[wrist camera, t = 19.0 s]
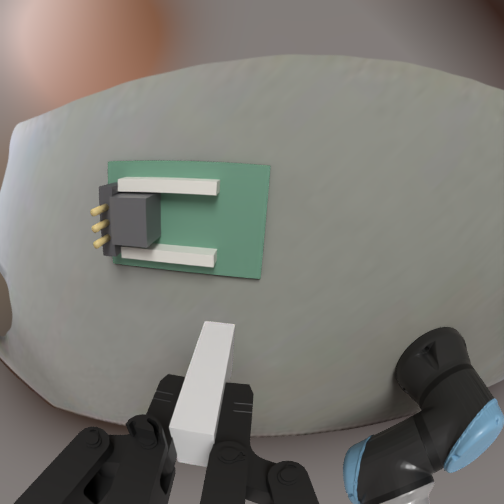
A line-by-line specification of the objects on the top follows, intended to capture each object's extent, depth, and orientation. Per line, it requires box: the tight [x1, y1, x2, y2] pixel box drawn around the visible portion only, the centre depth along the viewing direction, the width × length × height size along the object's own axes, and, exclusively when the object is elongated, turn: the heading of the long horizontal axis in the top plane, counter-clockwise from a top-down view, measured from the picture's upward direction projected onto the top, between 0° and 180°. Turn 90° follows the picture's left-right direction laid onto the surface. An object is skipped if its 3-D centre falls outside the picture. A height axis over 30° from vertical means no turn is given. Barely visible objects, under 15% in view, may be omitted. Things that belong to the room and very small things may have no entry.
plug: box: [109, 192, 161, 248], centre depth 34 cm, size 6×5×5 cm
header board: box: [91, 161, 270, 279], centre depth 34 cm, size 15×22×8 cm
